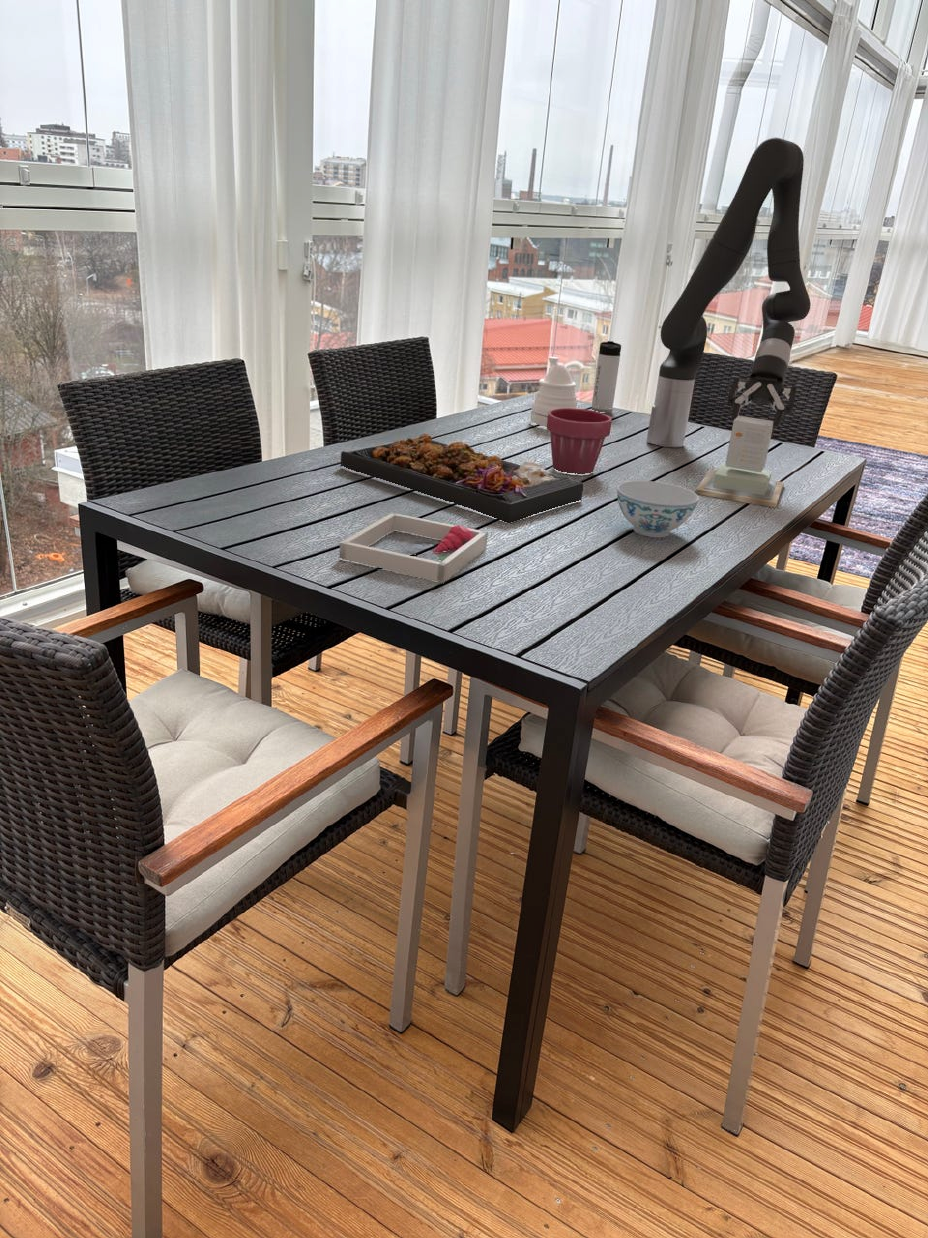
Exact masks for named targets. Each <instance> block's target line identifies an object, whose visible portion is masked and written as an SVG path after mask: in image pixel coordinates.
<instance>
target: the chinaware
mask: <svg viewBox="0 0 928 1238" xmlns="http://www.w3.org/2000/svg"><path fill="white" fill-rule="evenodd" d="M616 496H617V500H618V505H619V508H620V511H621V513H622V514H623V516H624V517H625V519H626V520H627V521H628V522H629V523H630V524H631V525H632V526H633V527H632V528H633V531H634V532H635V533H637V534H639V535H641V536H643V537H649V538H665V537H668V536H669V535H670V532H671V531H673V530H675V529H678V528H679V527H680V526H682V525H684V523H686V522H687V521H688V519H689V518H690V517H691V516H692V514H693V513H694V511H695V509H696V507H697V506H698V503H699V498H700V497H699V494H696V493H695V492H694V491H693V490H690V489H688V488H685V487H683V486H679V485H676V484H671V483H666V482H660V481H650V480H630V481H624V482H622V483H619V484H618V486H617V487H616Z"/></svg>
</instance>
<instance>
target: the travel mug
mask: <svg viewBox="0 0 928 1238" xmlns="http://www.w3.org/2000/svg"><path fill="white" fill-rule="evenodd" d="M621 351H622V345H621V344H620V343H617V342H614V341H613V340H612V341H610V340H607V341H603V342H600V343H599V351H598V356H597V364H596V372H595V380H594V385H593V392H592V393H593V394H592V401H591V409H592V410H594V411H598V412H605V413H609V414H612V413H613V409H609V408H613V407H614V400H615V393H616V388H617V380H618V373H619V367H620V362H621V360H620V359H621V358H620V357H621ZM598 406H599V407H598ZM606 407H607V408H606ZM591 409H590V410H591ZM592 410H591V411H592ZM611 412H612V413H611Z"/></svg>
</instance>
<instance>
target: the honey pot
mask: <svg viewBox="0 0 928 1238" xmlns="http://www.w3.org/2000/svg"><path fill="white" fill-rule="evenodd" d="M559 359H560V358H559V357H558V356H549V357H548V361H549V363H550V365H552V367H551V368H550V369H549V371H548V372H547V374H546V376H545V377H544V378H539V381H538V384H539V385H540V387H539V389H538V391H537V392H536V396H535V397H534V401H533V402H532V403H531V408H530V409H531V411H530V418H529V421H530V420H531V421H532V422H534V423H536V424H539V425H541V426H545V427H547V419H548V412H549V411H551V410H553V409H560V408H575V409H580V408H579V406H578V400H577V398H578V397H577V394H576V390H575V387H576V386H577V383H576V382H574V381H573V379H572V375H571V373H570V371H569V369H568V367H567V366H566V365H565V364H564V363H562V362H558V361H559Z"/></svg>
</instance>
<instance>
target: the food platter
mask: <svg viewBox="0 0 928 1238" xmlns="http://www.w3.org/2000/svg"><path fill="white" fill-rule="evenodd" d="M341 466H344V467H346V468H348V469H351V470H354V471H356V472H361V473H364V474H367V475H370V476H373V477H376V478H380V479H383V480H386V481H389V482H392V483H395V484H398V485H401V486H404V487H407V488H410V489H413V490H415V491H418V492H421V493H424V494H427V495H430V496H433V497H436V498H440V499H443V500H445V501H449V502H454V503H456V504H458V505H462V506H464V507H468V508H471V509H473V510H476V511H478V512H481V513H483V514H486V515H489V516H492V517H494V518H497V519H499V520H502V521H504V522H507V523H510V524H512V523H511V522H514V521H517V520H520V519H523V518H526V517H528V516H531V515H533V514H537V513H539V512H543V511H546V510H549V509H552V508H555V507H558V506H562V505H565V504H568V503H571V502H576V501H579V500H581V501H582V499H583V492H584V482H581V481H578V480H574V479H572V478H571V477H570V476H569V475H565V476H564V475H563V476H560V475H557V474H552V473H551V472H550V471H547V470H546V469H545V467H546V465H544V466H543V465H542V464H539V463H538V462H535V461H532V460H531V461H530V460H529V461H523V463H521V464H517V463H513V462H510V461H506V460H503V459H501V457H500V456H497V455H491V456H489V455H486V454H484V453H483V452H482V451H478V452H475V449H473V448H471V446H470V445H468V444H467V443H463V442H462V441H457V442H451V443H449V444H446V443H442V442H439V441H435V440H432V435H429V434H428V433H423V434H421V435H419V436H417V437H412V438H409V437H407V438H406V439H403V440H396V441H390V442H386V443H381V444H375V445H369V446H363V447H357V448H353V449H348V450H343V451H341V453H340V467H341ZM476 491H477V492H476ZM526 519H527V518H526ZM523 520H524V519H523ZM520 521H521V520H520ZM504 522H503V523H504ZM517 522H518V521H517ZM507 523H506V524H507ZM514 523H515V522H514Z"/></svg>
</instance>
